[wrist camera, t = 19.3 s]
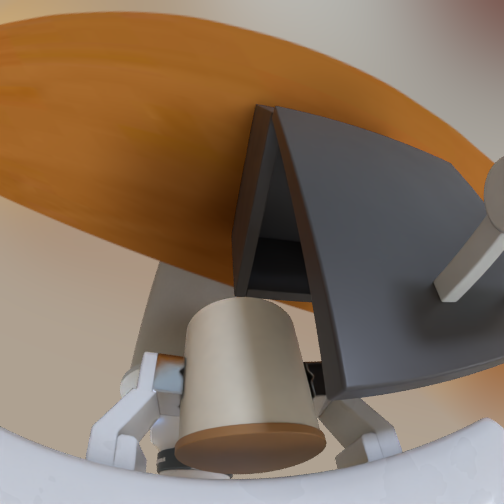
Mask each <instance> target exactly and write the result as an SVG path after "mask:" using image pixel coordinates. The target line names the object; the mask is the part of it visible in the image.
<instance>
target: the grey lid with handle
mask: <svg viewBox="0 0 504 504" xmlns="http://www.w3.org/2000/svg"><path fill="white" fill-rule="evenodd" d="M272 121H273V124H274V128H275V132H276V136H277V140H278V144H279V148H280V152H281V156H282V160H283V164H284V169H285V173H286V177H287V181H288V186H289V190H290V195H291V199H292V204H293V208H294V213H295V217H296V222H297V227H298V232H299V236H300V241H301V246H302V251H303V256H304V261H305V267H306V272H307V277H308V282H309V288H310V293H311V299H312V305H313V311H314V316H315V322H316V328H317V335H318V341H319V347H320V354H321V360H322V368H323V375H324V382H325V389H326V397H327V400H330V401H336V400H346V399H354V398H362V397H369V396H376V395H383V394H389V393H395V392H400V391H406V390H410V389H415V388H420V387H425V386H429V385H433V384H437V383H441V382H445V381H449V380H453V379H457V378H460V377H463V376H467V375H470V374H473V373H476V372H480V371H483V370H486V369H489V368H492V367H495V366H497V365H500V364H503V363H504V157H502V158H500V159H499V160H498V161H497V162H496V163H495V164H494V165H493V166H492V168H491V169H490V171H489V173H488V176H487V178H486V182H485V187H484V202H483V201H482V200H481V198H480V197H479V196H478V195H477V193H476V192H475V191H474V190H473V188H472V187H471V186H470V185H469V184H468V182H467V181H466V180H465V179H464V178H463V177H462V176H461V174H460V173H459V172H458V171H457V170H456V169H455V168H454V167H453V166H452V164H451V163H449V162H447V161H445V160H442V159H440V158H438V157H436V156H433V155H431V154H429V153H426V152H424V151H422V150H419V149H417V148H414V147H412V146H410V145H407V144H404V143H402V142H399V141H397V140H394V139H391V138H388V137H386V136H383V135H380V134H377V133H374V132H371V131H368V130H365V129H362V128H359V127H356V126H353V125H349V124H346V123H343V122H339V121H336V120H332V119H329V118H325V117H321V116H317V115H313V114H309V113H305V112H301V111H297V110H292V109H288V108H283V107H279V106H275V108H274V111H273V115H272Z"/></svg>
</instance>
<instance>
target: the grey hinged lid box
mask: <svg viewBox="0 0 504 504" xmlns="http://www.w3.org/2000/svg"><path fill="white" fill-rule="evenodd" d="M273 111H274V107H269V106H264V105H258V104H256V107H255V112H254V117H253V122H252V127H251V132H250V137H249V142H248V148H247V153H246V158H245V164H244V169H243V174H242V180H241V185H240V191H239V196H238V202H237V208H236V213H235V219H234V225H233V230H232V236H231V237H232V257H233V277H234V295H235V296H237V297H245V296H246V297H252V298H260V299H273V300H286V301H300V302H312V299H311V293H310V288H309V282H308V277H307V272H306V267H305V261H304V256H303V251H302V246H301V241H300V236H299V232H298V227H297V222H296V217H295V213H294V208H293V204H292V199H291V195H290V190H289V186H288V181H287V177H286V173H285V169H284V164H283V160H282V156H281V152H280V148H279V144H278V140H277V136H276V132H275V128H274V124H273V121H272V115H273Z"/></svg>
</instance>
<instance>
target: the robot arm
mask: <svg viewBox="0 0 504 504" xmlns="http://www.w3.org/2000/svg"><path fill="white" fill-rule="evenodd" d="M303 364H304V368H305V372H306V376H307V380H308V384H309V388H310V392H311V396H312V400H313V404H314V408H315V412H316V416H317V418H319V420H320V421H321V422H322V423H323V424H324V425H325V427H326V428H327V429H328V430H329V431H330V432H331V433H332V435H333V436H334V437H335V438H336V439H337V440H338V441H339V442H340V443H341V445H342V446H343V447H344V448H345V449H344V450H343V451H342V452H341V453H339V454H338V455H337V456H336V457H335V459H336V464H337V468H338V469H336V470H330V471H325V472H318V473H311V474H304V475H297V476H287V477H277V478H261V479H231V478H232V477H233V474H222V473H213V472H207V471H202V470H198V469H195V468H192V467H189V466H187V465H185V464H183V463H181V462H180V461H178V460H177V458H176V457H175V444H176V442H177V441H178V438H179V418H180V403H181V400H182V395H183V382H184V377H183V373H184V369H185V357H181V356H174V355H166V354H159V353H153V352H144V354H143V358H142V363H141V368H140V373H139V378H138V383H137V388H136V389H134V388H132V389H131V390H130V391H129V392H128V393H127V394H126V395H125V396H124V397H123V398H122V399H121V400H120V401H119V402H118V403H116V404H115V405H114V406H113V407H112V408H111V409H110V410H109V411H108V412H107V413H106V414H105V415H104V416H103V417H102V418H100V419H99V420H98V421H97V422H96V423H95V424H94V425H93V426H92V429H91V433H90V438H89V443H88V448H87V453H86V459H82V458H79V457H76V456H73V455H69V454H66V453H63V452H60V451H57V450H54V449H52V448H49V447H46V446H44V445H41V444H39V443H36V442H33V441H31V440H29V439H26V438H24V437H22V436H20V435H17V434H15V433H13V432H11V431H9V430H7V429H5V428H3V427H1V426H0V504H504V428H503V427H501V426H500V425H499V424H498V423H496V422H495V421H494V420H492V419H490V418H483V419H480V420H478V421H477V422H474V423H473V424H471V425H469V426H466V427H464V428H462V429H460V430H458V431H456V432H454V433H451V434H449V435H447V436H444V437H442V438H440V439H437V440H435V441H432V442H430V443H427V444H425V445H422V446H419V447H417V448H414V449H411V450H408V451H405V452H402V449H401V446H400V443H399V440H398V438H397V435H396V433H395V429H394V427H393V426H392V425H391V424H390V423H389V422H388V421H386V420H385V419H384V418H383V417H382V416H380V415H379V414H378V413H377V412H376V411H375V410H373V409H372V408H371V407H370V406H369V405H368V404H366V403H365V402H364V401H363V400H362V399H361V398H354V399H346V400H336V401H330V400H327V397H326V389H325V382H324V375H323V368H322V361H320V362H303ZM150 428H151V429H150ZM149 430H150V440H151V442H153V444H154V445H155V446H156V447H157V449H158V451H159V453H158V457H157V464H156V465H157V472H158V473H159V474H152V473H146V458H145V456H144V454H143V452H142V450H141V447H140V445H139V442H140V441H141V439H142V438H143V437H144V436H145V434H146V433H147V432H148V431H149Z"/></svg>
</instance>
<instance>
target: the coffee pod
mask: <svg viewBox="0 0 504 504" xmlns="http://www.w3.org/2000/svg"><path fill="white" fill-rule="evenodd" d="M184 357H185V369H184V373H183V377H184V382H183V395H182V400H181V403H180V418H179V438H178V441H177V442H176V444H175V457H176V458H177V460H178V461H180V462H181V463H183V464H185V465H187V466H189V467H192V468H195V469H198V470H202V471H207V472H213V473H222V474H253V473H263V472H270V471H275V470H280V469H284V468H288V467H291V466H295V465H298V464H300V463H303V462H305V461H308V460H309V459H311V458H313V457H315V456H316V455H318V454H319V453H321V452H322V451H323V450H324V448H325V447H326V440H325V435H324V434H323V432H322V431H321V430H320V429H319V425H318V420H317V416H316V412H315V408H314V404H313V400H312V396H311V392H310V388H309V384H308V380H307V376H306V372H305V368H304V364H303V360H302V356H301V352H300V349H299V344H298V341H297V337H296V333H295V329H294V326H293V322H292V320H291V318H290V316H289V315H288V314H287V313H286V312H285V311H284V310H283V309H282V308H281V307H279V306H277V305H276V304H274V303H272V302H269V301H266V300H263V299H259V298H252V297H233V298H227V299H223V300H219V301H216V302H214V303H211V304H209V305H207V306H205V307H204V308H202V309H201V310H200V311H198V312H197V313H196V314H195V315H194V316H193V318H192V319H191V321H190V322H189V324H188V327H187V332H186V341H185V352H184Z"/></svg>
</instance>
